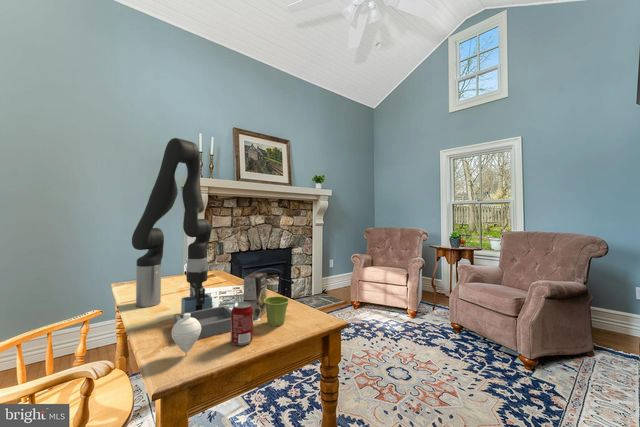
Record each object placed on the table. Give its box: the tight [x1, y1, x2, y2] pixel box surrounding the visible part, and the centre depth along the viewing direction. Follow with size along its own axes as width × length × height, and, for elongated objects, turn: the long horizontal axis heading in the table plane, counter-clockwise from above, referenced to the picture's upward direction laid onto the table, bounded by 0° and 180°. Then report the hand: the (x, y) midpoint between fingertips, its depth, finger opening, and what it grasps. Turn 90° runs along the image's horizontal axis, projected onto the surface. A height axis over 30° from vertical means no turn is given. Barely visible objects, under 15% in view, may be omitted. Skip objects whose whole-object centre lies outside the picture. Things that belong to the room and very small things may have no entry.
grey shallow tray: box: [174, 305, 232, 340], centre depth 98 cm, size 15×18×4 cm
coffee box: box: [242, 272, 268, 321], centre depth 111 cm, size 9×6×16 cm
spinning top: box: [171, 313, 201, 357], centre depth 79 cm, size 8×8×12 cm
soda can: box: [230, 301, 254, 347], centre depth 88 cm, size 7×7×12 cm
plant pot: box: [264, 295, 290, 327], centre depth 103 cm, size 9×9×9 cm
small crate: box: [180, 293, 213, 314], centre depth 110 cm, size 6×10×7 cm, turn 127°
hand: (196, 310), depth 110 cm, fingers open, 6 cm apart
